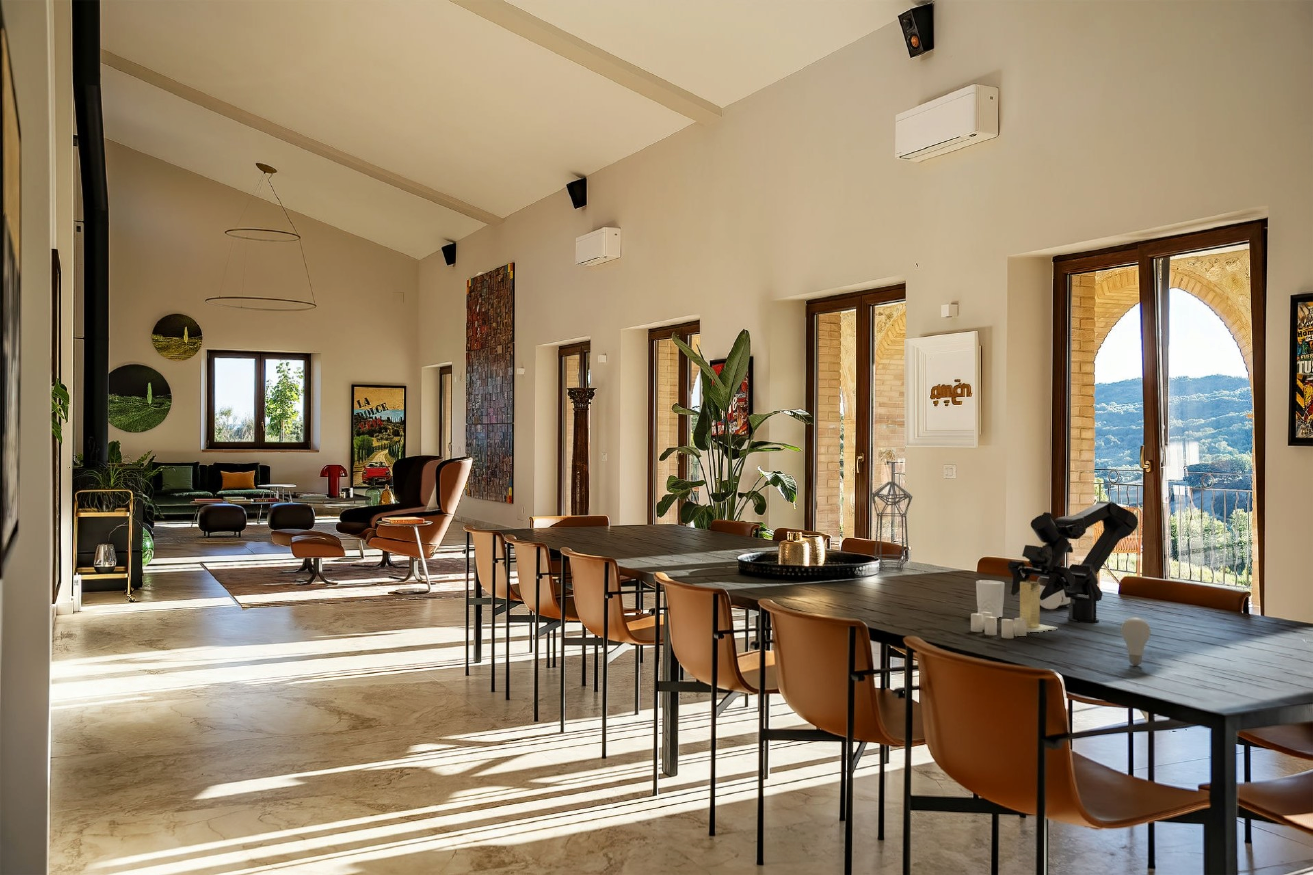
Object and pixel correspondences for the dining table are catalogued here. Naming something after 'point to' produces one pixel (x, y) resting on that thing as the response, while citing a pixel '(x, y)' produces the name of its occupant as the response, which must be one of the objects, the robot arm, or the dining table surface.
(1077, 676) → the dining table surface
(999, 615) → the white cup
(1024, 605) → the brass post
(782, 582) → the dining table surface
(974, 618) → the spacers
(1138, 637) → the lightbulb
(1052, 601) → the spread jar
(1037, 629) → the mat
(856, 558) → the dining table surface
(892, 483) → the geometric lantern
